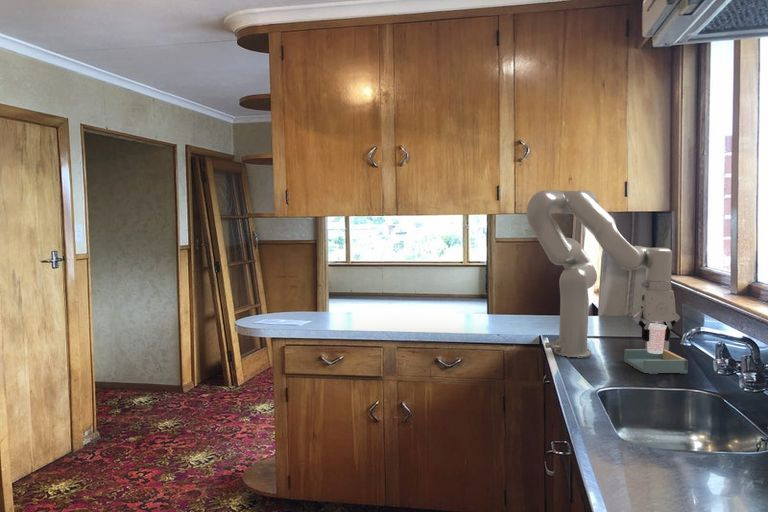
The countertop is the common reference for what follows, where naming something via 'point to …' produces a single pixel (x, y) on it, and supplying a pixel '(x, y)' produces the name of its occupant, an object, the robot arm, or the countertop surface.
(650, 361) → the tray
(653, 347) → the beverage cup
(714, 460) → the countertop surface
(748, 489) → the countertop surface
